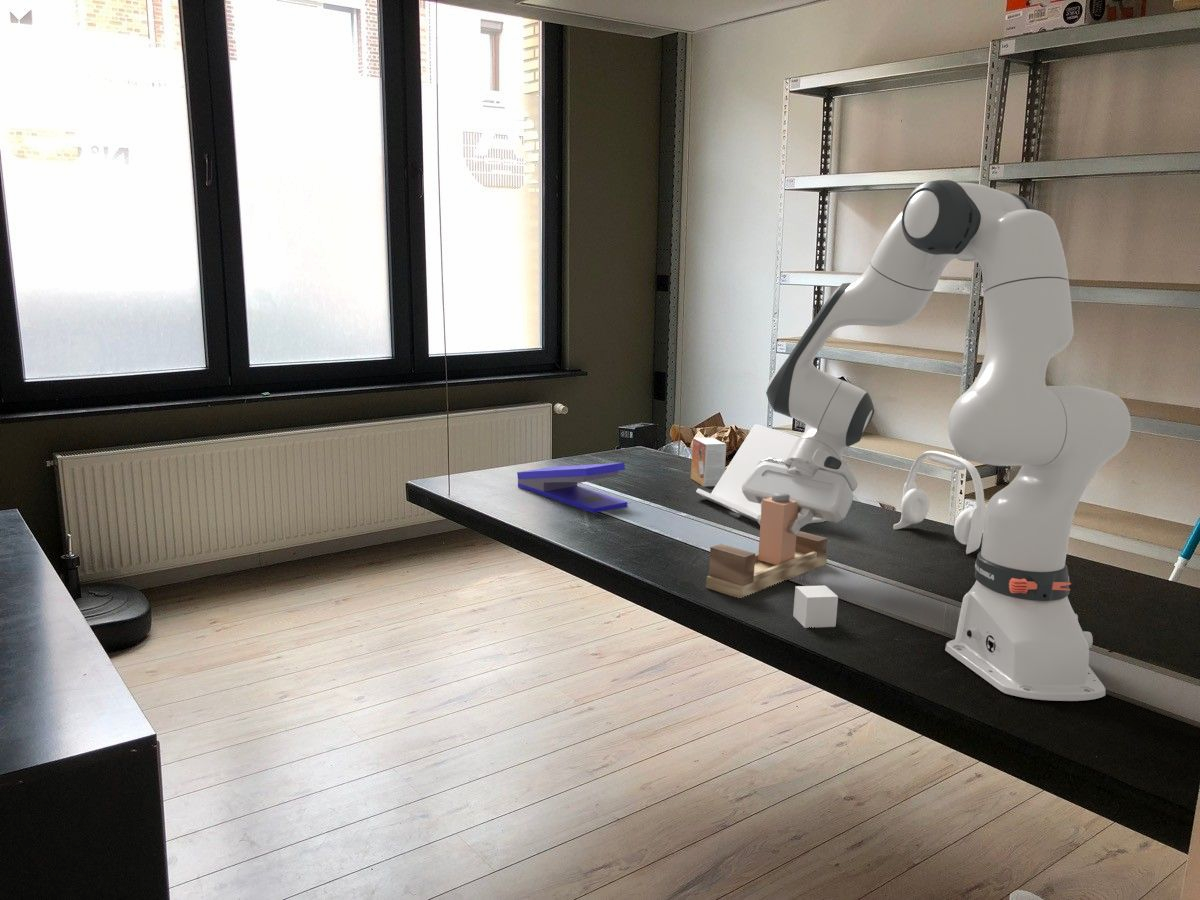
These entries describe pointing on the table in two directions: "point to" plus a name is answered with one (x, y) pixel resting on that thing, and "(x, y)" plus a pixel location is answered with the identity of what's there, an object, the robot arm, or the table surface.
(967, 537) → the headset
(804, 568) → the track
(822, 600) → the white cube
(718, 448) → the small box
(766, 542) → the pink capped carton
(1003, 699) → the table surface
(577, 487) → the stapler
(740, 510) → the tablet stand
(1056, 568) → the robot arm
